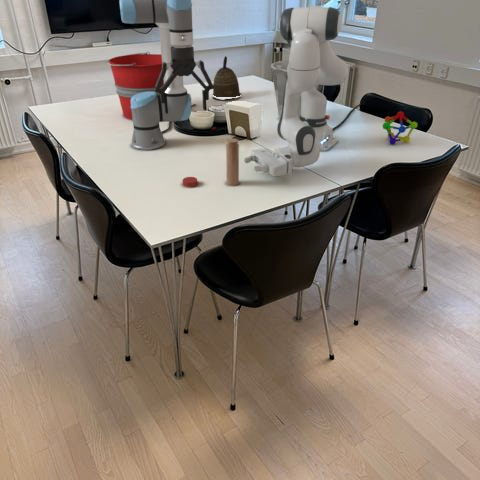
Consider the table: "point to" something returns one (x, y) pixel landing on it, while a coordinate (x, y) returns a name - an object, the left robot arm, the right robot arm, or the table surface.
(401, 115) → the educational toy
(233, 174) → the jar
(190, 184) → the lid
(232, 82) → the bell
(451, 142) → the table surface
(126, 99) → the bucket
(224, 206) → the table surface
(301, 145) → the right robot arm
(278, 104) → the bucket
